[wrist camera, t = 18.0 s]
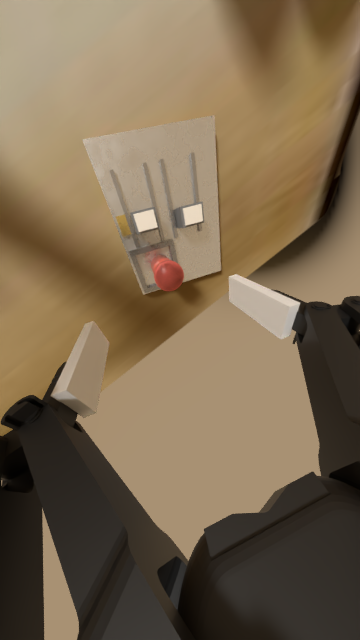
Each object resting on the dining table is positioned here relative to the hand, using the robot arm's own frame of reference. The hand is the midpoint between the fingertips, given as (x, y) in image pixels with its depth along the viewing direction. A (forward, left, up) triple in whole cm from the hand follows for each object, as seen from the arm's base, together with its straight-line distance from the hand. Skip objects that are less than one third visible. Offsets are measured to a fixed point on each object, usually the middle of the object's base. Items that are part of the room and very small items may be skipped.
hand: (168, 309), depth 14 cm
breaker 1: (-7, +2, -20) cm, 22 cm away
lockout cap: (+1, +3, -21) cm, 21 cm away
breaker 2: (-7, +10, -21) cm, 24 cm away
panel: (-6, +7, -23) cm, 24 cm away
